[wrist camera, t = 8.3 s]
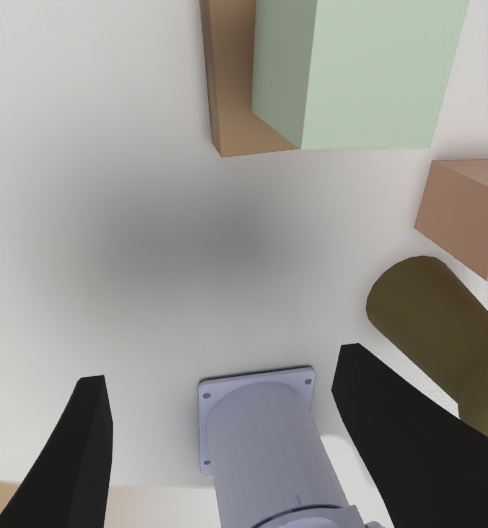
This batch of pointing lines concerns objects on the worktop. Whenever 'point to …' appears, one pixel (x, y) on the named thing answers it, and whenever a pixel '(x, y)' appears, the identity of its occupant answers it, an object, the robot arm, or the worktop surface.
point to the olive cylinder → (437, 330)
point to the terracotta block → (458, 211)
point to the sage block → (354, 70)
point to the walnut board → (234, 80)
